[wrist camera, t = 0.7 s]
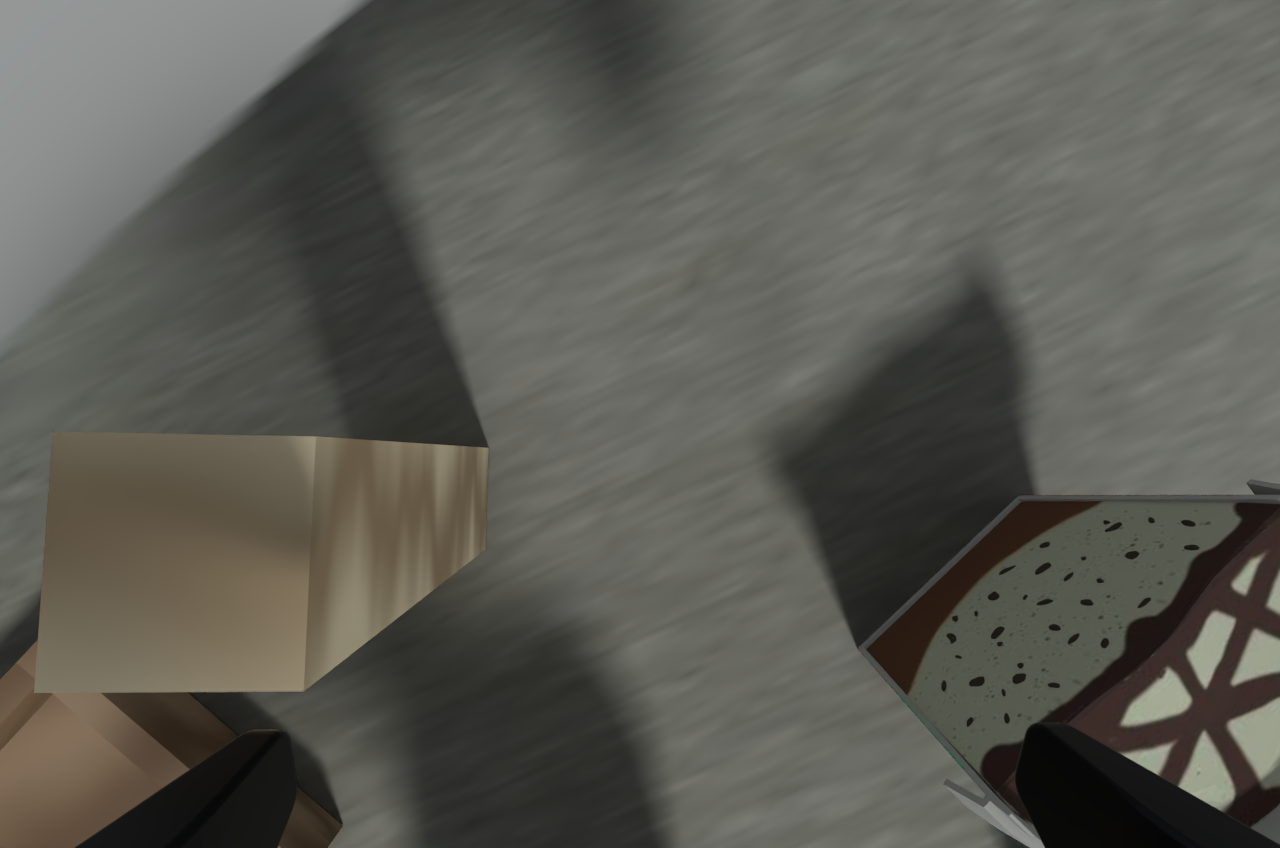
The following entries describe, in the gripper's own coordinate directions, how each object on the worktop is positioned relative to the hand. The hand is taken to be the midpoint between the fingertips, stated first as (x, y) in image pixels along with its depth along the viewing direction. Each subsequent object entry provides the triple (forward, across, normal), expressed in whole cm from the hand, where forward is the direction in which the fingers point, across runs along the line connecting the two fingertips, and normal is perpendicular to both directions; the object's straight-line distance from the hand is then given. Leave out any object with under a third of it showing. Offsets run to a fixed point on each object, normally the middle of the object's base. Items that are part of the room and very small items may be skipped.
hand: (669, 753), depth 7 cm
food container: (+15, -15, +8) cm, 23 cm away
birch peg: (+16, +8, +4) cm, 18 cm away
